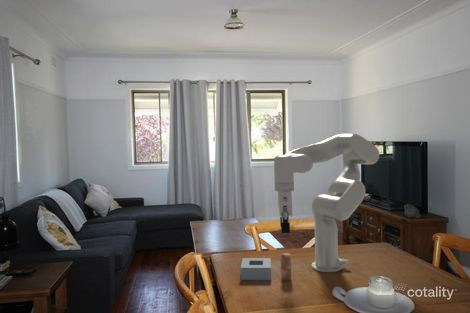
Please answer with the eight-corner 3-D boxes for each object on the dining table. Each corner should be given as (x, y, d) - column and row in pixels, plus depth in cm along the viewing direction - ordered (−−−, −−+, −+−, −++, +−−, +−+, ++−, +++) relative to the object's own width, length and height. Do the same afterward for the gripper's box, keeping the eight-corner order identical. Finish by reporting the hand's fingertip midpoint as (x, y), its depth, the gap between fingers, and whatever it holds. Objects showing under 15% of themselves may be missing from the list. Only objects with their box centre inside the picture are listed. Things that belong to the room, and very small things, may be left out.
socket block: (270, 269, 164) (270, 258, 164) (271, 280, 152) (270, 267, 152) (242, 269, 165) (242, 258, 165) (241, 280, 153) (240, 267, 153)
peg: (290, 277, 155) (290, 253, 154) (291, 281, 151) (291, 256, 150) (280, 277, 155) (280, 253, 155) (281, 281, 151) (280, 256, 151)
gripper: (295, 189, 142) (296, 235, 143) (292, 183, 159) (293, 224, 160) (275, 189, 143) (276, 235, 144) (274, 184, 160) (274, 224, 161)
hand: (284, 229), depth 152 cm, fingers open, 9 cm apart
